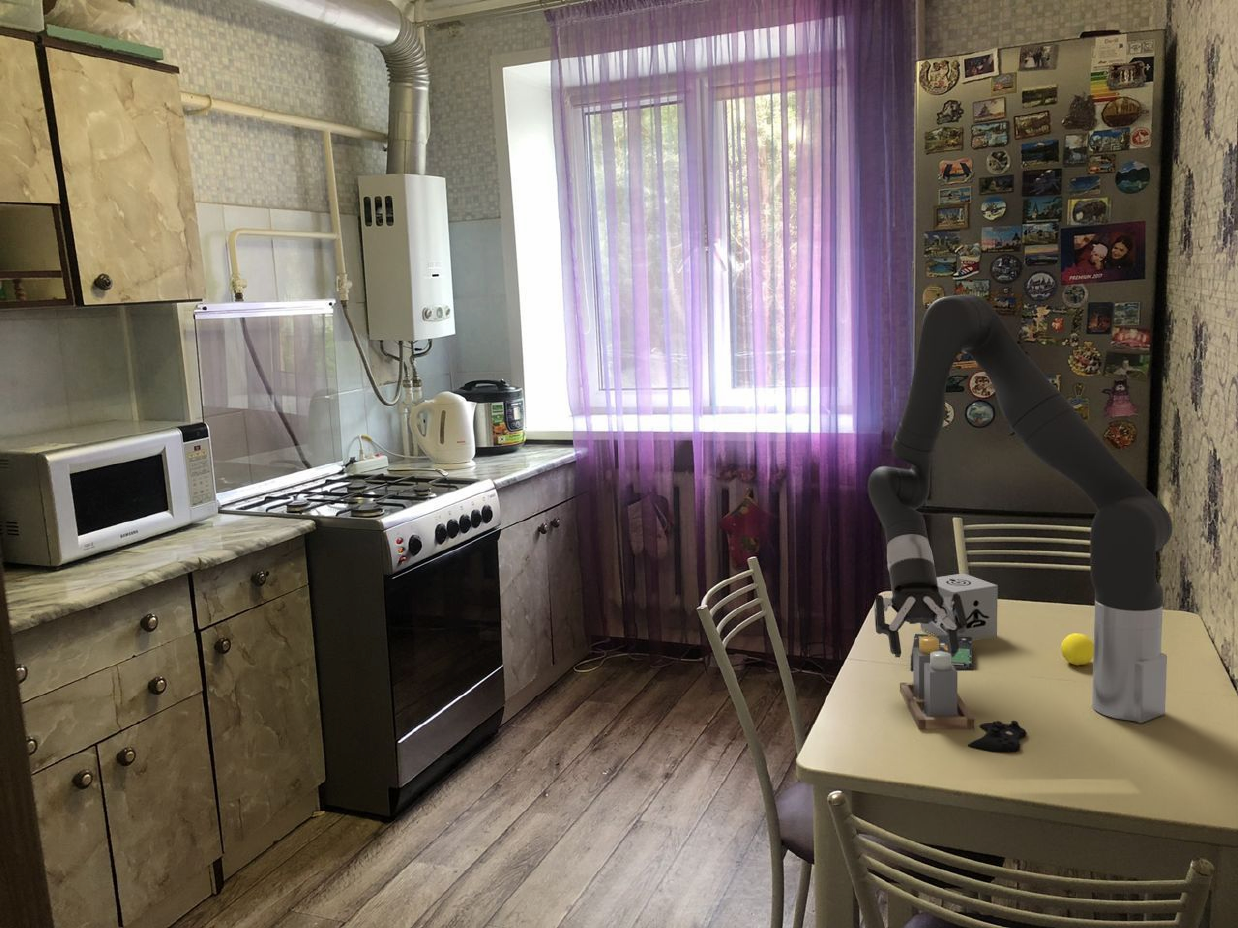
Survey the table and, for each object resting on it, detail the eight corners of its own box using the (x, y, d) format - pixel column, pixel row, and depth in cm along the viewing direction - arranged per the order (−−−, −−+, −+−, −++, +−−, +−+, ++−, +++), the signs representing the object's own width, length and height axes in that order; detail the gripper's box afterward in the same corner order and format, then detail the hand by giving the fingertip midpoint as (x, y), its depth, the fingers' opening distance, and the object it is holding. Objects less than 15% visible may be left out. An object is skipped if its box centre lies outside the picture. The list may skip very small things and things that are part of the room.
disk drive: (913, 647, 190) (910, 674, 176) (913, 633, 190) (910, 658, 176) (971, 651, 187) (973, 678, 173) (972, 636, 187) (973, 662, 173)
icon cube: (920, 629, 199) (920, 579, 197) (963, 621, 202) (963, 573, 201) (953, 643, 190) (953, 592, 188) (997, 636, 193) (997, 585, 191)
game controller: (974, 723, 152) (1015, 705, 148) (993, 753, 151) (1035, 736, 147) (959, 749, 144) (1002, 730, 140) (979, 780, 143) (1023, 762, 139)
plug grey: (950, 712, 155) (951, 649, 154) (957, 722, 151) (957, 658, 150) (924, 712, 156) (924, 650, 154) (929, 723, 152) (929, 659, 150)
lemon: (1092, 674, 173) (1093, 645, 172) (1058, 669, 176) (1058, 641, 174) (1096, 655, 179) (1096, 628, 177) (1062, 652, 181) (1063, 624, 180)
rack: (950, 697, 164) (950, 682, 164) (974, 736, 149) (974, 719, 149) (900, 698, 165) (899, 682, 164) (918, 736, 150) (918, 719, 150)
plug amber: (938, 694, 162) (938, 634, 161) (945, 704, 158) (945, 643, 157) (913, 695, 163) (913, 635, 161) (919, 704, 159) (919, 643, 157)
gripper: (871, 557, 169) (883, 645, 160) (958, 555, 168) (975, 644, 159) (866, 579, 175) (877, 665, 166) (950, 577, 174) (966, 664, 165)
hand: (925, 655), depth 162 cm, fingers open, 8 cm apart
